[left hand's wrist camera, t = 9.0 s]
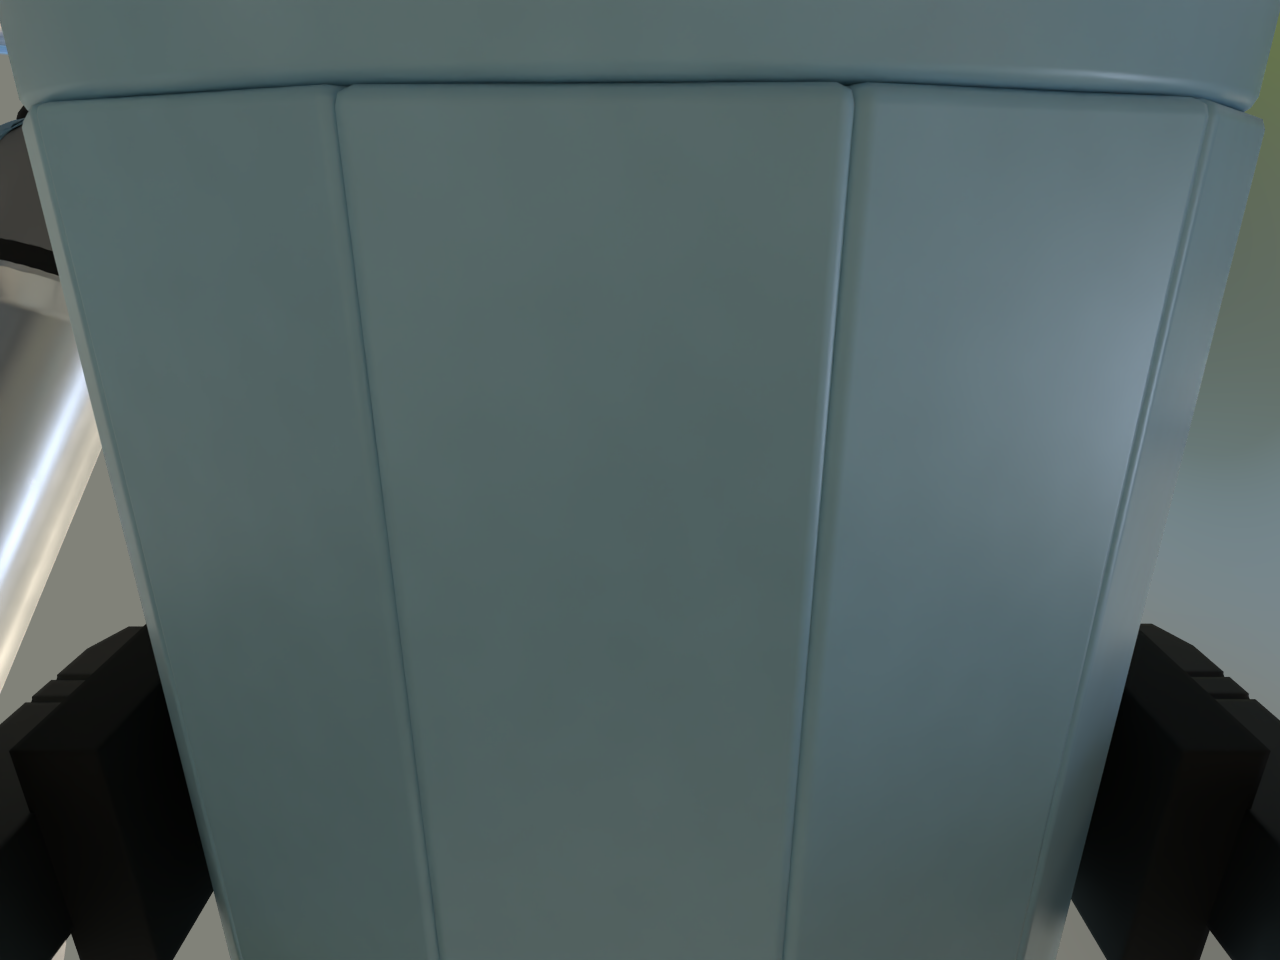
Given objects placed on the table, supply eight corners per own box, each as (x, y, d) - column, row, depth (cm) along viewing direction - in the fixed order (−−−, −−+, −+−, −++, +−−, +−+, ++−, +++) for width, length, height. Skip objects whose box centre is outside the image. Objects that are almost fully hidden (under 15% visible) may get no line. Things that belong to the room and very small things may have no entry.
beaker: (1861, -135, 4) (1181, 1386, 8) (883, 79, 12) (818, 756, 17) (-839, -359, 2) (182, 1682, 6) (227, 66, 11) (350, 819, 15)
